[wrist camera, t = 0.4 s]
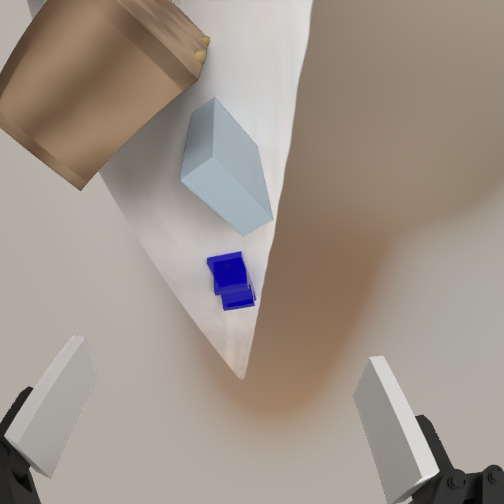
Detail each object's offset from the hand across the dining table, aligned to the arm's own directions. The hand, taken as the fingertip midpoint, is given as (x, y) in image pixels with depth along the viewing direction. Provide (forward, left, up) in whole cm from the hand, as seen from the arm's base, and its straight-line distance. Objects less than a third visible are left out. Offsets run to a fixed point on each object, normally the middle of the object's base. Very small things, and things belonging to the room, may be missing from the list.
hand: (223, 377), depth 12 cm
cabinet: (-13, -3, -34) cm, 37 cm away
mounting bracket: (+35, -24, -35) cm, 55 cm away
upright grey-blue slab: (+5, -3, -35) cm, 35 cm away
